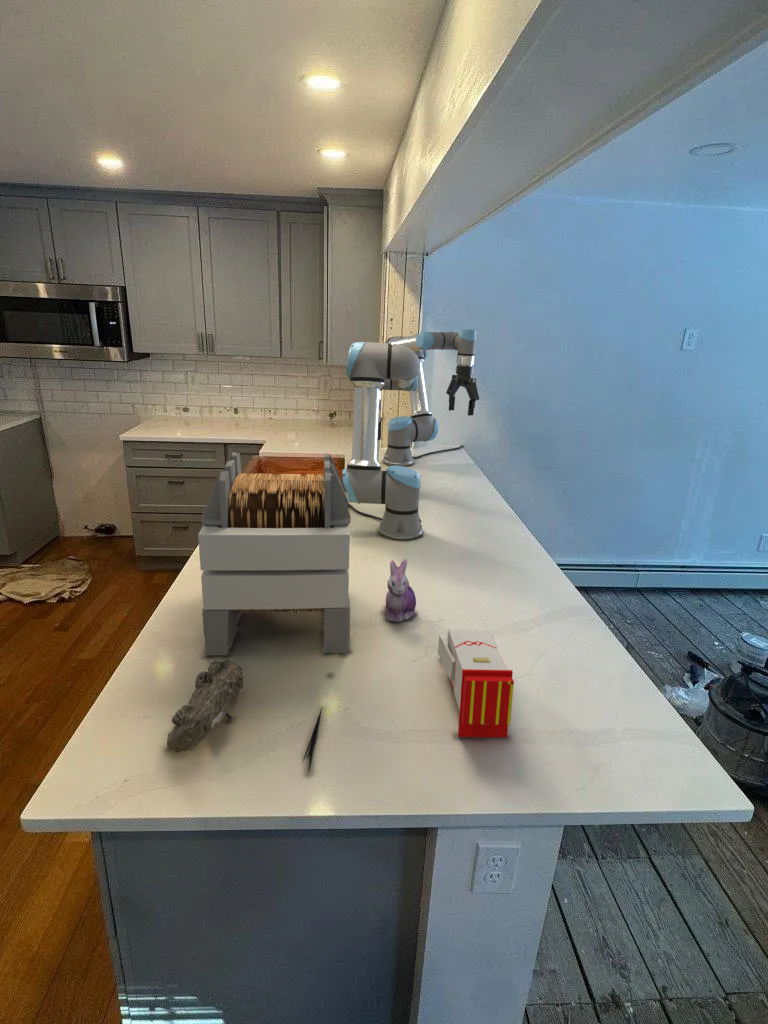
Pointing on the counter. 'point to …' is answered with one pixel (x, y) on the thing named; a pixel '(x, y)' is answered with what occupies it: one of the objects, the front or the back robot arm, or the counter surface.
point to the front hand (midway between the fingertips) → (370, 453)
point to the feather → (313, 740)
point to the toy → (478, 682)
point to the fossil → (206, 705)
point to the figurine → (399, 594)
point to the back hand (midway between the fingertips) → (460, 412)
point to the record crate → (275, 551)
